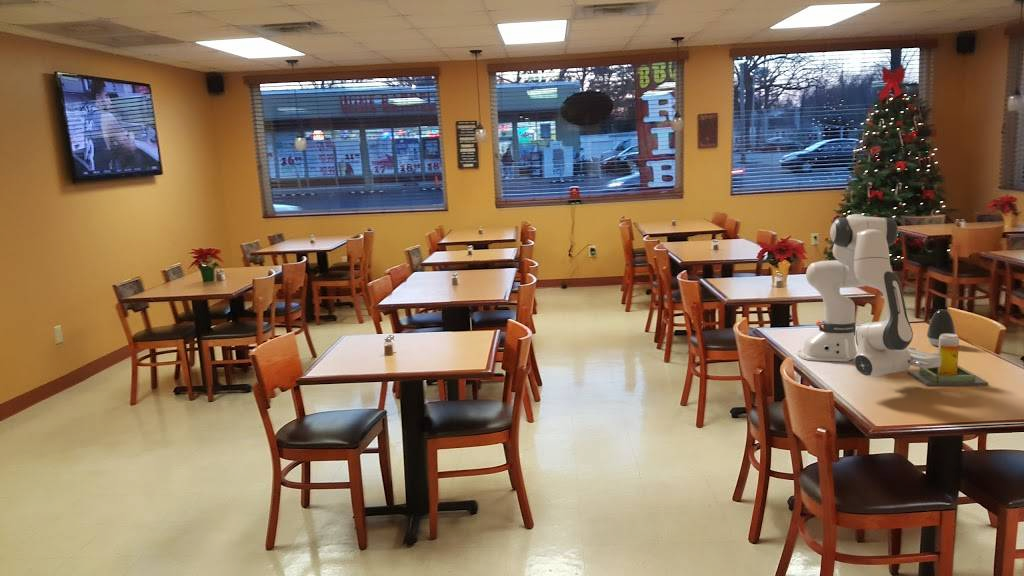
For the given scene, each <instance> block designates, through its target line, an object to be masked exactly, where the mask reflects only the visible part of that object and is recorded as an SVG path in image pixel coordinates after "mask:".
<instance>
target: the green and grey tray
mask: <svg viewBox="0 0 1024 576" xmlns="http://www.w3.org/2000/svg"><path fill="white" fill-rule="evenodd" d="M937 369H938V367H935V368H920V367H919V369H907V374H909V375H910V376H911V377H913V378H914V379H915V380H917V381H918V382H920V383H921V384H922V385H924V386H925V387H926V386H927V387H932V386H933V387H934V386H935V387H937V386H939V387H941V386H943V387H947V386H949V387H951V386H954V387H956V386H957V387H958V386H959V387H961V386H969V387H970V386H971V387H973V386H989V382H988V381H986V380H985V379H983V378H982V377H979V376H977V375H976V374H975V373H973V372H971V371H969V370H968V369H965V368H964V367H962V366H960V365H958V369H957V375H938V374H937Z"/></svg>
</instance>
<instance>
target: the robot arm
mask: <svg viewBox="0 0 1024 576" xmlns="http://www.w3.org/2000/svg"><path fill="white" fill-rule="evenodd" d="M829 231H830V232H829V235H830V240H831V242H832V243H833V247H832V255H833V257H834V258H835V260H834V259H833V260H832V259H831V260H820V261H815V262H812V263H810V264H809V265H808V267H807V269H806V272H805V276H806V277H805V278H806V281H807V282H808V284H809V285H810V286H811V287H812V288H814V289H815V290H816V291H817V292H818V293H819V294H820V297H821V298H822V301H823V308H824V309H823V310H824V320H823V321H820V320H817V321H815V325H816V326H817V327H818V330H817V331H815V332H814V333H813V334H811V335H810V336H808V337H807V338H805V341H803V342H804V343H803V348H802V349H798V350H797V353H798V354H797V355H799V356H800V358H801V359H803V360H806V361H816V362H817V361H821V362H823V361H824V362H849V361H850V360H853V362H854V363H853V364H854V367H855V369H856V370H857V371H858V372H859V373H860V374H862V375H863V376H867V377H880V376H885V375H888V374H895V373H900V372H904V371H908V370H909V368H910V367H911V366H912V367H917V368H919V369H920V368H935V367H940V366H941V356H940V354H938V353H936V352H935V353H928V352H925V351H921V350H916V348H915V347H914V348H913V347H909V345H910V344H911V343H912V341H913V337H914V332H913V328H912V326H911V323H910V321H909V318H908V313H907V308H906V303H905V298H904V293H903V288H902V283H901V281H900V278H899V276H898V275H897V274H896V273H895V272H894V271H893V269H892V267H891V266H892V265H891V259H890V249H889V247H891V246H892V245H894V244H895V243H896V241H897V238H898V234H899V229H898V224H897V222H896V221H895V219H893V218H890V217H883V216H882V217H877V216H865V215H863V214H859V213H854V214H850V215H848V216H846V217H844V216H843V217H840V218H835V220H834V221H833V222H832V224H831V227H830V229H829ZM866 286H867V287H871V288H873V289H877V290H879V291H880V292H881V293H882V295H883V299H884V302H885V303H884V304H885V308H886V309H885V310H886V313H887V314H886V316H887V318H886V319H885V320H880V321H871V322H863V323H862V324H860V325H859V326H858V327H857V326H856V321H855V316H856V315H855V313H856V312H855V309H856V304H855V302H854V301H853V300H852V299H851V298H850V297H847V296H845V295H843V294H841V292H840V289H842V288H843V289H844V288H860V287H861V288H862V287H866ZM856 327H857V329H856ZM799 356H798V357H799Z"/></svg>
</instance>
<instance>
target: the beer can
mask: <svg viewBox="0 0 1024 576" xmlns="http://www.w3.org/2000/svg"><path fill="white" fill-rule="evenodd" d="M959 344H960V338H959V336H958V334H956V333H955V334H949V333H944V334H941V335H940V337H939V346H938V350H937V351H938V353H937V354H940V356H941V366H940V367H938V369H937V374H938V375H957V369H958V366H959V347H960V345H959Z"/></svg>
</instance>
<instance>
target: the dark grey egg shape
mask: <svg viewBox="0 0 1024 576" xmlns="http://www.w3.org/2000/svg"><path fill="white" fill-rule="evenodd" d="M944 333H949V334H956V327H955V324H954V321H953V317H952V315H951V314H950V312H949V311H948V310H946V309H941V308H939V309H938V310H936V311H935V312H934V313H933V315H932V317H931V319H930V322H929V325H928V328H927V333H926V336H927V339H928V342H929V343H930V344H931V345H933V346H936V347H939V337H940V335H941V334H944Z"/></svg>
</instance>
